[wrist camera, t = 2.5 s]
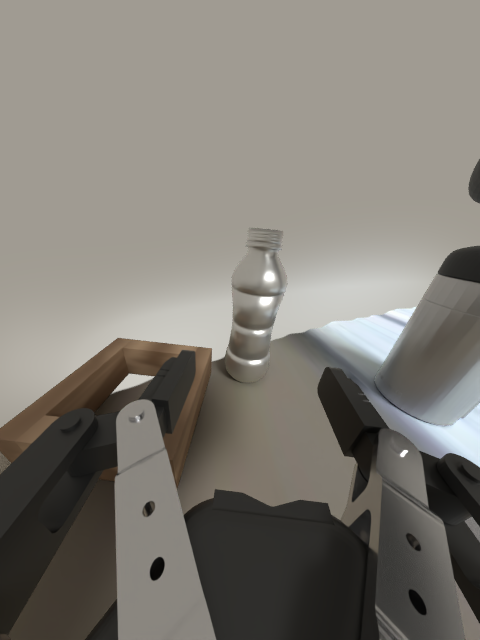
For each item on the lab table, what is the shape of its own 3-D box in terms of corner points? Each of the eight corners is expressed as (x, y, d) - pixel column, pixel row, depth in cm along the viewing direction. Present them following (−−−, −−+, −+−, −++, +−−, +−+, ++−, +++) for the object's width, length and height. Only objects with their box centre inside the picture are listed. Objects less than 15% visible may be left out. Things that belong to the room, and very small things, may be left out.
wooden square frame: (211, 372, 26) (211, 348, 24) (177, 488, 14) (172, 460, 12) (124, 362, 26) (117, 338, 24) (17, 469, 14) (-13, 438, 12)
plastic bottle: (231, 355, 30) (243, 228, 22) (269, 365, 29) (298, 233, 20) (217, 381, 25) (224, 224, 16) (262, 395, 23) (299, 231, 14)
